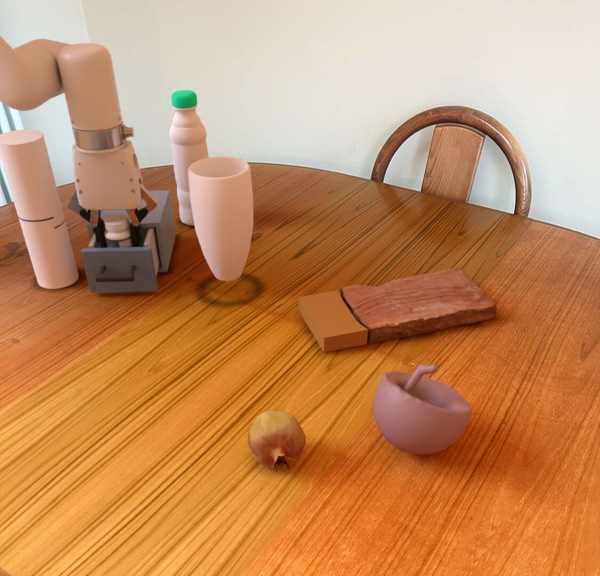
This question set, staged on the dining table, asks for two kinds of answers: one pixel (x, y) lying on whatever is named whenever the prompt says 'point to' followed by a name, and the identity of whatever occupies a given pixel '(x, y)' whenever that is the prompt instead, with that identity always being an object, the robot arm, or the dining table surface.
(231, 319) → the dining table surface
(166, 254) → the cabinet
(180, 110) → the water bottle
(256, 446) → the fruit
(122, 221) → the pill bottle
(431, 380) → the mortar and pestle
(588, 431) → the dining table surface
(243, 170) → the cup
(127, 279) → the drawer
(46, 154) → the cylindrical container
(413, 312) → the brown flat slab
